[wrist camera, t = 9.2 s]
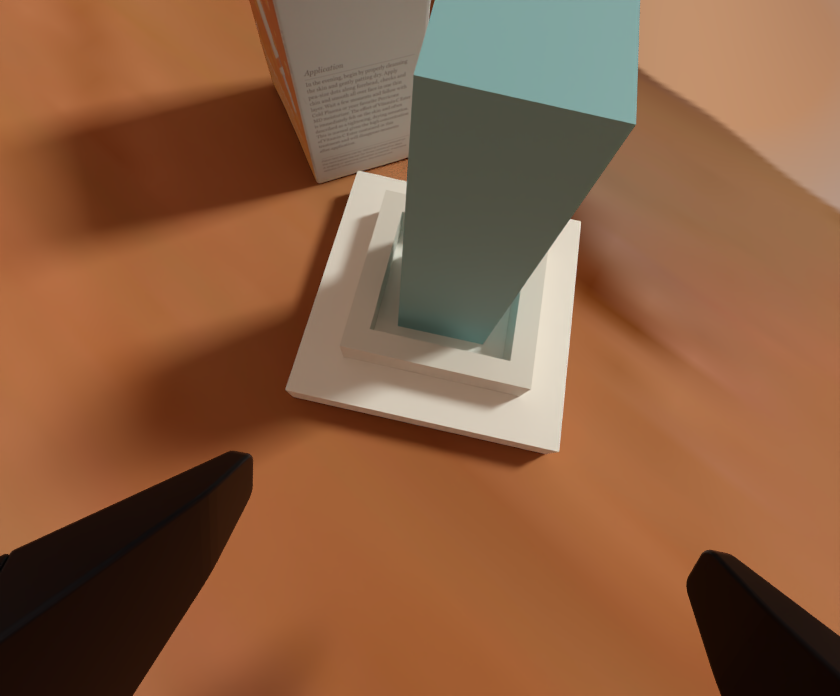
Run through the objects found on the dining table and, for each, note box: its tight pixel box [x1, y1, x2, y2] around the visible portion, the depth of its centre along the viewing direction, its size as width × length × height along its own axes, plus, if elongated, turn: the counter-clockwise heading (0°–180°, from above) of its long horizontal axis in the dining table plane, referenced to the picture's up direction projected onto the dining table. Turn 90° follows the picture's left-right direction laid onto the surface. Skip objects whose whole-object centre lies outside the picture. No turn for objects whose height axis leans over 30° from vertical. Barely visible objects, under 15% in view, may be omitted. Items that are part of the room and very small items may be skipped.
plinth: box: [285, 171, 581, 454], centre depth 19 cm, size 12×12×3 cm
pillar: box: [398, 0, 640, 344], centre depth 13 cm, size 4×4×12 cm
